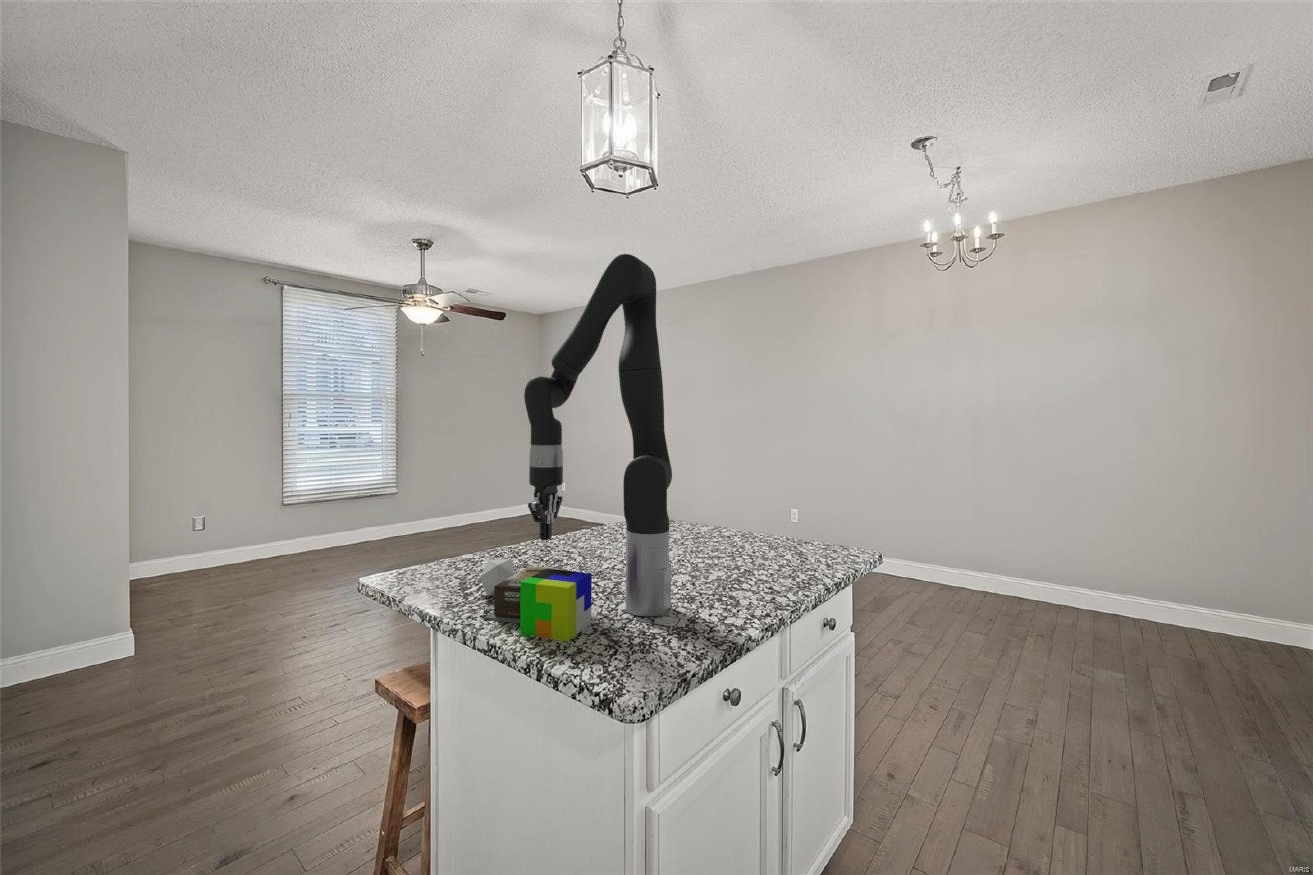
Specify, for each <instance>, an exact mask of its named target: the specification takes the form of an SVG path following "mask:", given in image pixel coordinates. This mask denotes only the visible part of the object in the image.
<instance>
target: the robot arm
mask: <svg viewBox="0 0 1313 875" xmlns="http://www.w3.org/2000/svg"><path fill="white" fill-rule="evenodd" d="M621 306H622V312H623V318H624V334H623V339H622V340H623V341H622V345H621V348H620V353H619V358H618V378H619V389H620V390H619V391H620V397H621V402H622V406H623V409H624V411H625V415H626V418H627V420H628V423H629V427H630V431H631V435H632V446H633V447H632V448H633V449H632V450H633V451H632V452H633V453H632V454H633V456H632V457H633V459H632V460H631V461H630V462H629V463H628V464H627V466H625V470H624V475H623V486H622V487H623V492H622V493H623V515H624V519H625V529H626V530H625V533H626V534H625V537H626V538H625V598H624V599H625V611H626V612H627V613H628V614H630V615H633V616H638V617H655V616H662V617H663V616H665V615H667V613H668V611H670V608H671V607H672V563H670V517H669V516H668V515H669V514H668V489H669V487H670V486H671V482H672V479H673V470H672V464H671V460H670V456H669V451H668V450H669V449H668V444H667V439H666V431H665V403H664V387H663V386H664V385H663V384H664V383H663V374H662V373H663V372H662V366H661V365H662V364H661V356H660V346H659V345H660V344H659V338H658V337H659V336H658V331H657V279H656V276H655V272H654V271H653V269H652V268H651V267H650V266H649V265H648V264H646V263H645V261H642V260H641V259H640V258H638V257H636V256H635V255H633V254H629V253H621V254H618V255H617V256H615V257H612V259H611V260H610V261H609V263H608V264H607V266H606V267H605V269H604V271H603V273H602V274H601V276H600V278H599V280H598V282H597V285H596V287H595V288H594V291H593V293H592V294H591V295H590V298H589V300H588V302H587V304H586V306H585V308H584V310H583V311H582V313H581V314H580V316H579V319H578V320H577V322H576V323H575V325H574V327H573V329H572V330H571V331H570V333H569V334H568V335H567V336H566V338H565V339H564V341H563V343H561V345H560V346H559V347H558V349H557V351H556V352H555V353H554V354H553V357H552V359H551V366H552V368H553V371H552V372H551V373H552V374H551V375H550V376H549V377H547V376H541V375H537V376H534V377H532V378H530V379H529V380H528V382H527V383H526V386H525V388H524V393H523V394H524V396H523V398H524V404H525V410H526V414H527V418H528V422H529V424H530V450H529V457H528V458H529V460H528V461H529V462H528V463H529V464H528V466H529V468H528V469H529V474H528V475H529V477H528V478H529V482H528V483H529V485H530V486H532V487H534V492H533V501H529V502H528V503H527V506H528V509H529V511H530V514H531V516H532V518H533V520H534V522H535V523H538V524H539V539H540V540H541V541H549V540H551V539H552V537H553V534H552V533H553V532H552V531H553V528H552V525H553V523H554V521H555V520H556V519H558V518H557V517H558V514H559V513H560V512H559V511H560V509H561V505H562V503H563V496H562V495H558V492H559V489H558V487H560V486H561V485H563V483H564V455H563V454H564V453H563V452H564V451H563V445H562V444H563V442H562V440H563V426H562V422H561V421H560V420H559V419H557V418H556V417H555V415H554V411H553V409H558V408H560V407H561V406H563V405H564V404H566V403H565V402H567V401H568V399H569V398H570V397H571V394H572V393H573V390H574V388H575V386H576V383H577V382H578V381H577V380H578V379H579V378H578V377H579V376H580V375H581V373H582V372H583V370H585V368H586V367H587V365H588V364H589V363H590V361H591V360H592V358H593V357H594V356H595V354H596V352H597V350H598V349H599V346H600V343H601V341H602V339H603V338H602V337H603V334H604V332H605V330H606V327H607V325H608V323H609V321H610V319H611V318H612V316H613V315H614V314H615V312H616V311H617V309H619V308H620V307H621Z"/></svg>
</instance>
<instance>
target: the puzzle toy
mask: <svg viewBox="0 0 1313 875" xmlns="http://www.w3.org/2000/svg"><path fill="white" fill-rule="evenodd" d="M592 574H593V573H592V572H591V573H590V572H584V571H583V572H581V571H574V570H566V569H565V570H557V569H546V570H544V571H542V572H540V573H538V574H536V575H534V576H532V577H530V578H528V579H526V580H524V581H522V582H521V591H520V623H519V624H520V627H519V628H520V629H519V630H520V631H519V632H520V634H519V635H524V636H528V637H529V636H531V637H536V638H544V639H548V640H556V641H561V642H567V643H568V642H569V641H571V640H572V638H574V637H575V636H576V635H578V634H579V633H581V632H582V631H583V630H584V629H585V628H586V627H588V626H589V625H590V624H591V623H592V597H593V596H592V592H593V591H592V588H593V587H592V586H593V585H592V582H593V581H592V579H593V575H592Z"/></svg>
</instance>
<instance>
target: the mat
mask: <svg viewBox="0 0 1313 875" xmlns="http://www.w3.org/2000/svg"><path fill="white" fill-rule="evenodd" d="M484 620H490V621H500V622H506V623H515V624H520V618H513V617H504V616H495V615H494V610H493V611H492V612H490V613H488V614H487V615H485V616H484Z"/></svg>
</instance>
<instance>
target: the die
mask: <svg viewBox="0 0 1313 875" xmlns="http://www.w3.org/2000/svg"><path fill="white" fill-rule="evenodd" d="M516 573H517V571H516V568H515V567H514V564H513V561H512V559H510V558H507V559H506V558H505V559H504V558H503V559H488V561H487V563H486V564H485V566H484V568H483V569H482V572H481V574H480V575H479V579H480V582H481V585H482V586H483V589H484V591H485V594H486V596H487V597H494V587H495V586H496V585H497V584H499V583H501V582H503V581H504V580H506V579H508V578H510V577H511V576H513V575H515V574H516Z"/></svg>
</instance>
